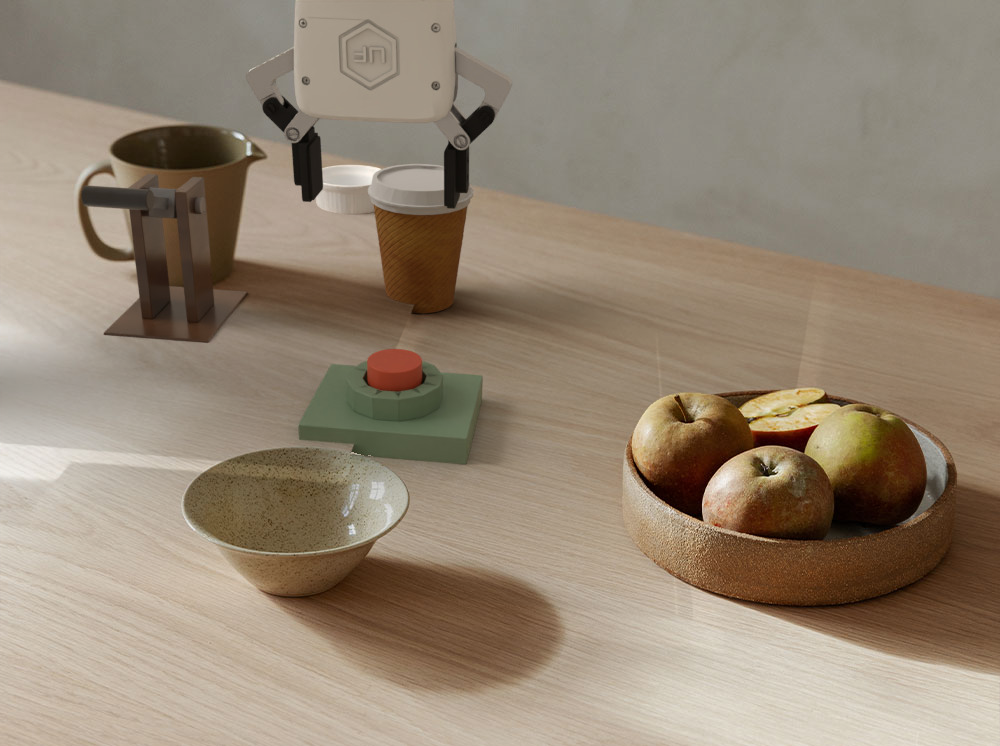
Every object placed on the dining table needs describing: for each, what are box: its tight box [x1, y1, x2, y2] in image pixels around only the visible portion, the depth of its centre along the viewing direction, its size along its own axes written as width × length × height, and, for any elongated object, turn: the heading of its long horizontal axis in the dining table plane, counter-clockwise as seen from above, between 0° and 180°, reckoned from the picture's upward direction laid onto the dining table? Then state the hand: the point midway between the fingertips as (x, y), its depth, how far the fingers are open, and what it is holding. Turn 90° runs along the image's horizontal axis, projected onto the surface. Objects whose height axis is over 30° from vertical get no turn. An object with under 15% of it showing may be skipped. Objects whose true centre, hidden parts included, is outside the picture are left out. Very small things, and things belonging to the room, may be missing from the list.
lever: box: [80, 184, 178, 220], centre depth 88 cm, size 12×5×2 cm, turn 174°
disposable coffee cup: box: [368, 163, 474, 314], centre depth 102 cm, size 10×10×12 cm
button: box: [366, 348, 423, 392], centre depth 81 cm, size 4×4×2 cm
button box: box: [297, 360, 484, 465], centre depth 82 cm, size 12×10×4 cm
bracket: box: [103, 173, 248, 344], centre depth 95 cm, size 11×9×13 cm
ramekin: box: [315, 164, 382, 215], centre depth 126 cm, size 9×9×4 cm
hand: (382, 199), depth 75 cm, fingers open, 9 cm apart
